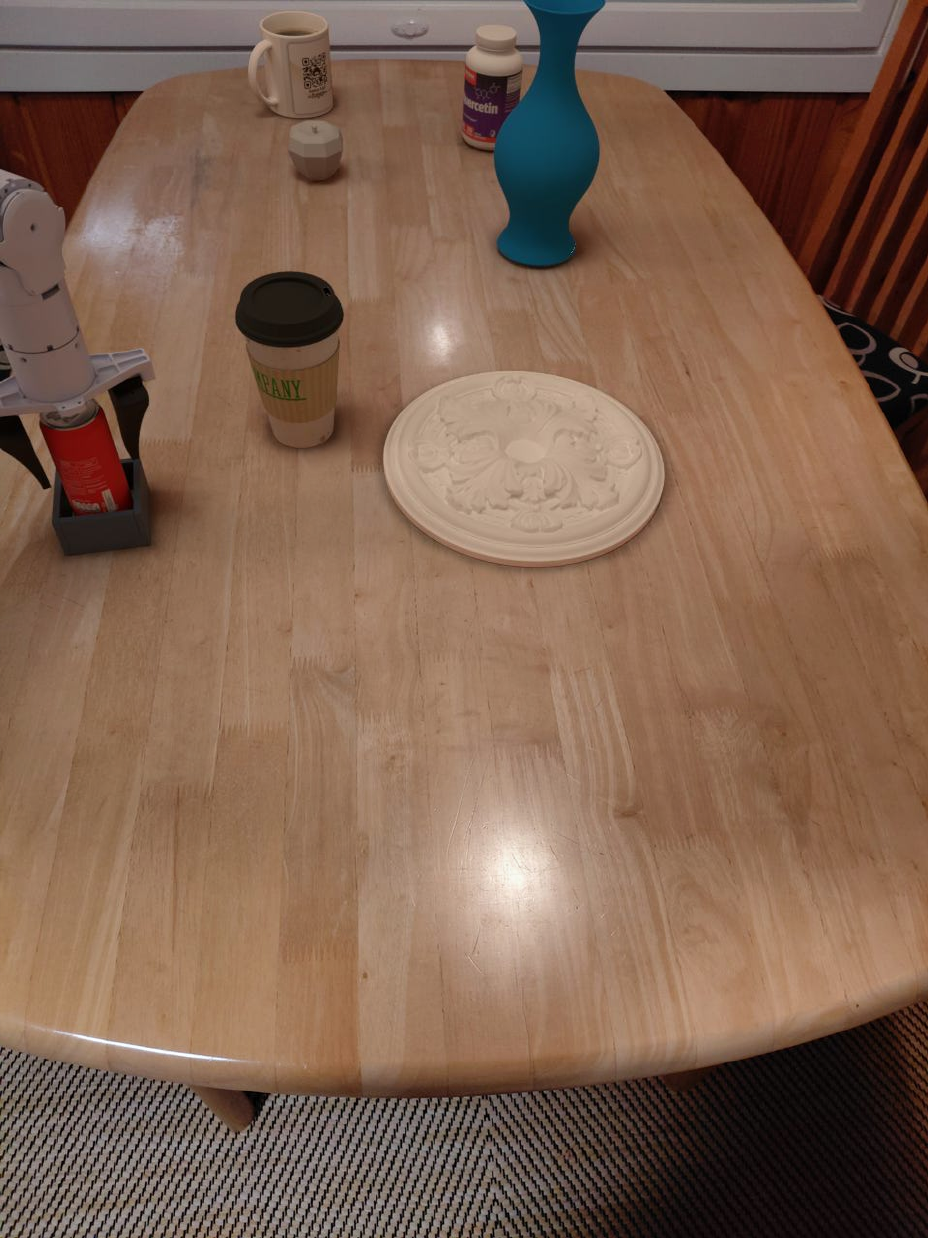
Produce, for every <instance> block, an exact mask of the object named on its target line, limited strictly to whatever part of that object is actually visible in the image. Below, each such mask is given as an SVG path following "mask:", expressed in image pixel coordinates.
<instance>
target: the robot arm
mask: <svg viewBox="0 0 928 1238" xmlns="http://www.w3.org/2000/svg"><path fill="white" fill-rule="evenodd" d="M65 235H66V216H65V211H64V208H63V207H61V206H58V205H56V204H55V203H54V200H53V199H52V197H51V195H50V193H48V192H46V191H45V188H44V187H43V186H42V184H40V183H39V182H36V181H34V180H31V179H29V178H26V177H23V176H21V175H18V174H15V173H13V172H9V171H7V170H4V169H1V168H0V342H1V345H2V347H3V349H4V352H5V354H6V357H7V360H8V362H9V364H10V365H9V366H10V367H11V369H12V372H13V374H12V375H11V376H9V377H7V378H5V379H3V380H1V381H0V450H1V451H2V452H4V453H6V454H8V455H9V456H10V457H12V458H14V459H15V460H16V461H18V462H19V463H20V464H21V465H22V466H23V467H25V469H26V470H28V471H29V473H31V474H32V475H33V477H34V478H35V479H36V480H37V482H38V484H39V485H40V487H41V488H42V490H48V489H51V488H52V484H51V482H50V480H49V477H48V475H47V473H46V471H45V469H44V467H43V464H42V463H41V461H40V459H39V457H38V456H37V453H36V451H35V449H34V448H35V447H34V446H33V443H32V441H31V439H30V436H29V434H28V432H27V431H26V428H25V426H24V423H23V421H22V420H21V418H20V416H21V415H31V414H32V415H34V414H39V413H44V412H56V411H58V412H59V414H60V415H61V416H63V417H68V416H72V415H75V414H78V413H81V412H84V411H85V410H86V409H87V406H86V402H87V401H89V400H91V399H93V398H94V399H95V398H96V397H98V396H99V395H101V394H103V393H105V392H107V393H108V395H109V398H110V401H111V404H112V407H113V410H114V413H115V416H116V421H117V426H118V429H119V433H120V438H121V441H122V443H123V446H124V448H125V450H126V451H127V454H128V455H129V458H131V459H132V461H133V460H136V459H139V458H140V459H141V456H140V455H141V454H140V437H141V430H142V424H143V421H144V417H145V416H146V412H147V410H148V408H149V406H150V395H149V392H148V389H147V388H146V386H145V385H144V383H147V382H151V381H154V380H156V373H155V370H154V367H153V363H152V359H151V358H150V357H149V355H148V353H147V351H146V350H145V349H144V348H143V347H140V348H135V349H131V350H125V351H115V352H103V353H91V354H90V353H89V349H88V347H87V343H86V340H85V338H84V334H83V331H82V328H81V325H80V322H79V319H78V315H77V312H76V310H75V306H74V302H73V300H72V297H71V294H70V291H69V287H68V284H67V281H66V278H65V276H66V274H65V270H66V269H67V266H66V263H65V259H64V256H63V244H64V240H65Z"/></svg>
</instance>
